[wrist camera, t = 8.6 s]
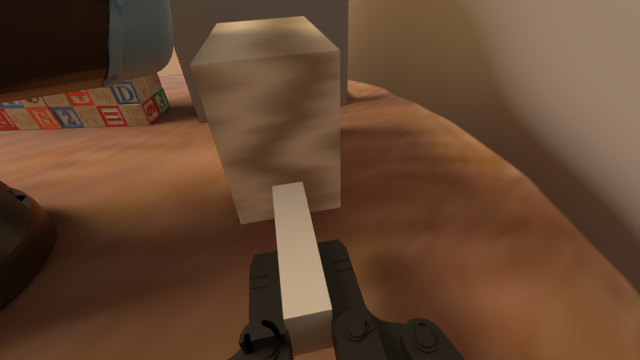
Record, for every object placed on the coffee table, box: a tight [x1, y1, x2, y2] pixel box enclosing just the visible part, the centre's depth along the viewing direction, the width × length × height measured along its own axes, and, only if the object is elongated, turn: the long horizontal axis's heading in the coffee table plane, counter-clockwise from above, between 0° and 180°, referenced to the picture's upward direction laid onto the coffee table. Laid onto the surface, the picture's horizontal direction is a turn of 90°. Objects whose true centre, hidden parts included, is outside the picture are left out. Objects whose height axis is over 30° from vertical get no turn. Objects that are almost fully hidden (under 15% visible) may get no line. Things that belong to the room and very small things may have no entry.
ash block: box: [190, 16, 341, 224], centre depth 24 cm, size 8×14×12 cm, turn 11°
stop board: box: [169, 0, 348, 122], centre depth 35 cm, size 20×5×14 cm, turn 101°
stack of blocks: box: [0, 73, 170, 130], centre depth 36 cm, size 21×6×12 cm, turn 90°
